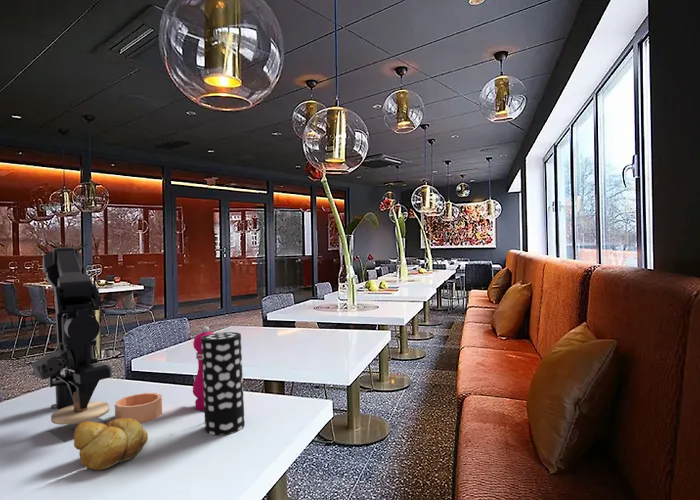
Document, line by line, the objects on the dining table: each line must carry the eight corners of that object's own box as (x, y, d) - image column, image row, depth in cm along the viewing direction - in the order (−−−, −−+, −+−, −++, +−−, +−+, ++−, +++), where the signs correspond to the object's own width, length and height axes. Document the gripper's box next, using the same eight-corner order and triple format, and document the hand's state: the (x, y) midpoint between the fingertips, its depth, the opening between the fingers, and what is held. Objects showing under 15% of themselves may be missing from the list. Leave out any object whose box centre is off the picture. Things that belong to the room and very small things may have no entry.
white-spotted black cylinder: (252, 422, 100) (248, 333, 100) (227, 437, 93) (223, 340, 92) (223, 418, 104) (219, 331, 103) (196, 432, 96) (192, 338, 96)
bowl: (108, 420, 105) (107, 402, 105) (149, 407, 112) (148, 390, 112) (128, 430, 99) (127, 410, 99) (170, 415, 106) (169, 397, 106)
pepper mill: (214, 411, 108) (211, 328, 108) (187, 410, 109) (184, 328, 109) (228, 401, 115) (225, 323, 115) (203, 400, 116) (199, 323, 116)
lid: (43, 417, 98) (42, 394, 98) (96, 402, 107) (95, 381, 107) (62, 428, 92) (61, 404, 91) (118, 411, 100) (117, 389, 100)
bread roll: (137, 440, 93) (135, 401, 93) (162, 451, 87) (161, 410, 87) (69, 465, 83) (67, 422, 83) (92, 480, 77) (90, 434, 77)
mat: (47, 433, 99) (47, 430, 99) (96, 418, 106) (95, 416, 106) (65, 444, 92) (65, 441, 92) (115, 427, 100) (115, 425, 100)
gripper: (20, 339, 99) (23, 410, 99) (51, 348, 87) (55, 429, 87) (75, 330, 107) (78, 395, 107) (111, 338, 96) (114, 411, 96)
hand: (80, 407), depth 99 cm, fingers closed on lid, 3 cm apart
